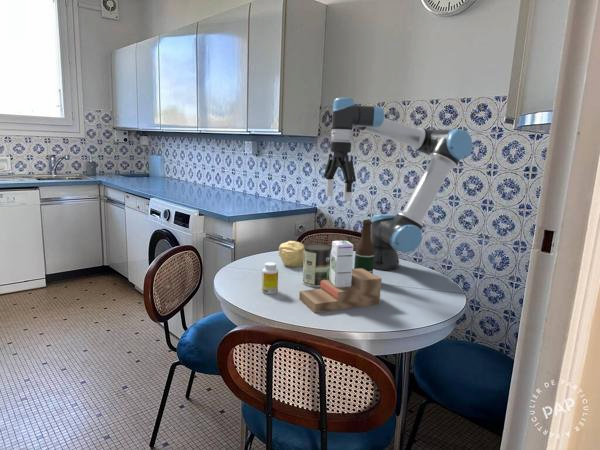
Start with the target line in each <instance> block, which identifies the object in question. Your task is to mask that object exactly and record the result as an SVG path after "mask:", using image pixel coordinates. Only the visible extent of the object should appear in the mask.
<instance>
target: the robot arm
mask: <svg viewBox="0 0 600 450" xmlns="http://www.w3.org/2000/svg"><path fill="white" fill-rule="evenodd" d="M331 119H332V121H331V123H332V124H331V132H330V134H331V137H330V138H331V139H330V140H331V142H330V152H332V153H328V158H327V159H328V160H327V163H326V167H325V169H324V170H325V171H324V174H323V177H324V178H325V179H326V188H325V197H334V182H335V178H334V176H335V175H336V173H337V171H338V168H339V169H341V172H342V175H343V179H344V181H343V182H344V183H343V198H342V201H343V202H351V201H352V200H351V199H352V198H351V197H352V187H353V183H356V182H357V179H356V173H355V168H354V167H355V166H354V162H353V158H354V156H353V155H348V154H349V153H351V152H352V143H351V141H352V140H353V139H352V138H353V129H355V130H359V131H362V132H365V133H368V134H372V135H375V136H378V137H382V138H384V139H387V140H390V141H394V142H396V143H401V144H404V145H406V146H410V148H411V149H412V150H413V151H417V152H420V153H422V154H425V155H426V156H429V157H430V161H429V162H428V165H427V166H426V168H425V170H424V172H423V174H422V175H421V177H420V179H419V181H418V183H417V184H416V187H414V190H413V191H412V194H411V195H410V197H409V198H408V201H407V202H406V204H405V206H404V208H403V209H402V211H400V212H397V213H396V214H391V213H390V214H388V213H387V214H386V213H384V214H383V213H382V214H373V216H372V218H371V222H372V224H371V242H372V244H373V246H374V263H373V270H374V269H375V270H380V271H381V270H382V271H392V270H397V269H399V268H400V259H399V254H398V252H401V253H410V252H413V251H415V250H416V249H418V248H419V246H420V245H421V243H422V239H423V233H422V229H423V227H424V225H423V220H424V218H425V216H426V215H427V212H428V211H429V209H430V207H431V205H432V204H433V202H434V200H435V198H436V197H437V194H438V193H439V191H440V190H441V187H442V186H443V184H444V182H445V180H446V178H447V176H448V175H449V173H450V171H451V170H452V169H455V168H457V166H458V164H459V163H460V161H461V160H464V159H466V158H469V156H470V155H471V153H472V150H473V147H474V146H473V144H474V143H473V141H472V139H473V138H472V136H471V135H470V133H469V132H468V131H467V130H464V129H461V128H453V129H452V128H451V129H450V128H449V129H428V128H424V127H419V128H416V127H412V126H409V125H406V124H404V123H401V122H398V121H395V120H392V119H389V118H386V117H385V111H384V109H383V108H382V107H380V106H375V105H362V104H361V105H360V104H355V99H354V98H351V97H337V98H335V99H334V100H333V105H332V118H331Z"/></svg>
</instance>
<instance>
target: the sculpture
mask: <svg viewBox="0 0 600 450" xmlns="http://www.w3.org/2000/svg"><path fill="white" fill-rule="evenodd" d="M304 246H305V245H304V244H303V243H302V242H299V241H296V240H288V241H286V242H283V243H280V245H279V246H278V256H279V257H280V260H281V261H282V263H283V265H284V266H287V267H289V268H300V267H302V266H303V264H304Z"/></svg>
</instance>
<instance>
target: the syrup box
mask: <svg viewBox="0 0 600 450" xmlns="http://www.w3.org/2000/svg"><path fill="white" fill-rule="evenodd" d="M353 259H354V244H353V243H351V242H350V241H349V240H332V242H331V258H330V276H329V279H330V282H331V283H332V284H333V285H334V286H335V287H338V288H340V287H351V280H352V269H353V261H354V260H353Z"/></svg>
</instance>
